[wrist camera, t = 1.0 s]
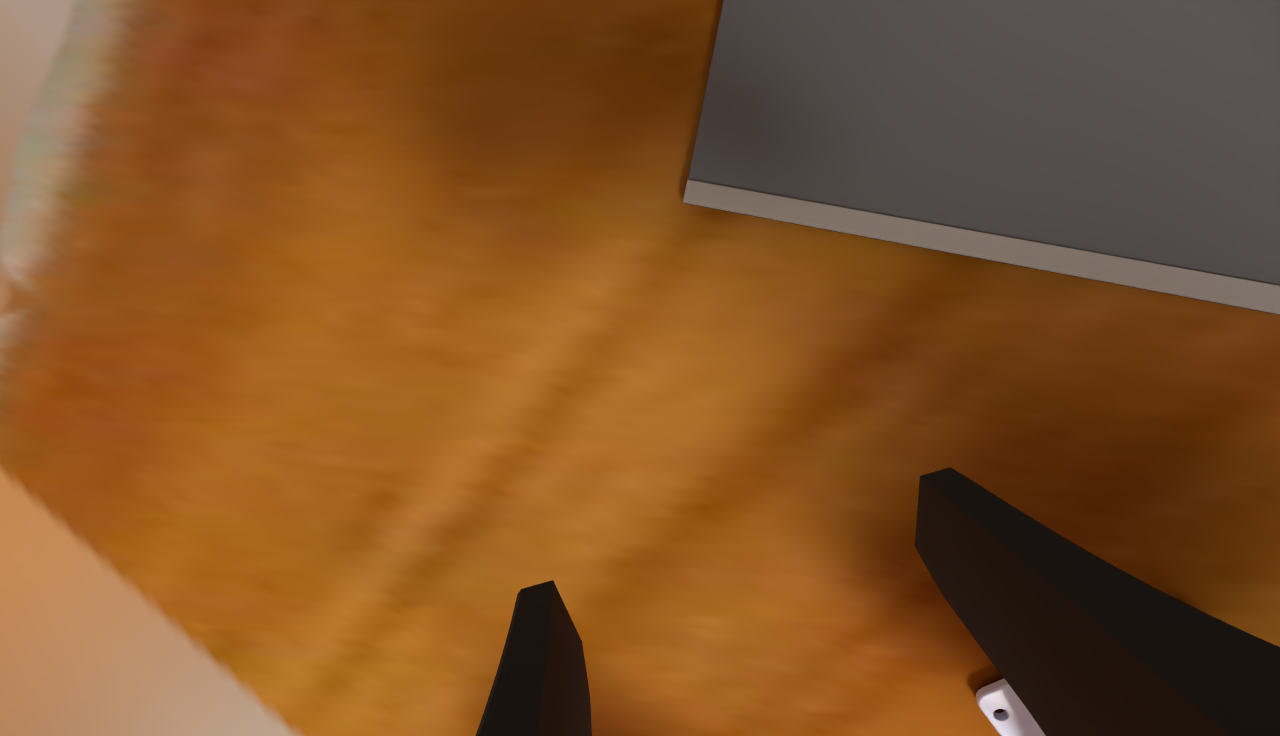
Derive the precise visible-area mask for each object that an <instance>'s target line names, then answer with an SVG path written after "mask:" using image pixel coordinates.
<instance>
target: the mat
mask: <svg viewBox="0 0 1280 736" xmlns="http://www.w3.org/2000/svg"><path fill="white" fill-rule="evenodd" d="M683 203H687V204H692V205H697V206H703V207H708V208H713V209H719V210H724V211H729V212H735V213H740V214H745V215H751V216H756V217H761V218H767V219H772V220H777V221H783V222H788V223H793V224H799V225H804V226H809V227H815V228H820V229H825V230H831V231H836V232H841V233H847V234H852V235H857V236H863V237H868V238H873V239H879V240H884V241H889V242H895V243H900V244H905V245H911V246H916V247H921V248H927V249H932V250H937V251H943V252H948V253H953V254H959V255H964V256H969V257H975V258H980V259H985V260H991V261H996V262H1001V263H1007V264H1012V265H1017V266H1023V267H1028V268H1033V269H1038V270H1044V271H1049V272H1054V273H1060V274H1065V275H1070V276H1076V277H1081V278H1086V279H1092V280H1097V281H1102V282H1108V283H1113V284H1118V285H1124V286H1129V287H1134V288H1140V289H1145V290H1150V291H1156V292H1161V293H1166V294H1172V295H1177V296H1182V297H1188V298H1193V299H1198V300H1204V301H1209V302H1214V303H1220V304H1225V305H1230V306H1236V307H1241V308H1246V309H1252V310H1257V311H1262V312H1268V313H1273V314H1278V315H1280V0H724V1H723V6H722V11H721V16H720V21H719V26H718V31H717V36H716V41H715V46H714V51H713V56H712V61H711V66H710V71H709V76H708V81H707V86H706V91H705V96H704V101H703V106H702V111H701V116H700V121H699V126H698V132H697V137H696V142H695V147H694V152H693V157H692V162H691V167H690V172H689V177H688V180H687V184H686V189H685V194H684V199H683Z"/></svg>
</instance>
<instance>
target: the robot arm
mask: <svg viewBox="0 0 1280 736" xmlns="http://www.w3.org/2000/svg"><path fill="white" fill-rule="evenodd" d="M915 547H916V549H917V551H918V553H919V554H920V556H921V558H922V560H923V562H924V563H925V565H926V567H927V569H928V571H929V572H930V574H931V576H932V577H933V579H934V581H935V582H936V584H937V586H938V587H939V589H940V591H941V593H942V594H943V596H944V597H945V599H946V600H947V601H948V603H949V604H950V606H951V607H952V608H953V610H954V611H955V612H956V614H957V615H958V617H959V618H960V619H961V621H962V622H963V623H964V625H965V626H966V627H967V629H968V630H969V632H970V633H971V634H972V636H973V637H974V638H975V640H976V641H977V642H978V644H979V645H980V646H981V648H982V649H983V650H984V652H985V653H986V654H987V656H988V657H989V658H990V660H991V661H992V662H993V664H994V665H995V667H996V668H997V669H998V671H999V672H1000V673H1001V675H1002V676H1003V677H1004V679H1001V680H999V681H997V682H994V683H992V684H990V685H987V686H985V687H982V688H981V689H979V690H978V692H977V693H976V700H977V703H978V705H979V707H980V709H981V710H982V712H983V713H984V714H985V715H986V717H987V718H988V719H989V721H990V722H991V723H992V725H993V726H994V727H995V729H996V730H997V731H998V732H999V734H1000V735H1001V736H1280V647H1278V646H1276V645H1273V644H1271V643H1269V642H1267V641H1264V640H1262V639H1260V638H1258V637H1255V636H1253V635H1251V634H1249V633H1246V632H1244V631H1242V630H1240V629H1238V628H1236V627H1233V626H1231V625H1229V624H1227V623H1225V622H1223V621H1221V620H1219V619H1217V618H1215V617H1212V616H1210V615H1208V614H1206V613H1204V612H1202V611H1200V610H1198V609H1196V608H1194V607H1192V606H1189V605H1187V604H1185V603H1183V602H1181V601H1179V600H1177V599H1175V598H1173V597H1171V596H1169V595H1167V594H1165V593H1163V592H1161V591H1159V590H1157V589H1156V588H1154V587H1152V586H1150V585H1148V584H1146V583H1144V582H1142V581H1141V580H1139V579H1137V578H1135V577H1133V576H1131V575H1129V574H1128V573H1126V572H1124V571H1122V570H1120V569H1118V568H1116V567H1115V566H1113V565H1111V564H1109V563H1107V562H1106V561H1104V560H1102V559H1100V558H1099V557H1097V556H1095V555H1093V554H1091V553H1090V552H1088V551H1086V550H1085V549H1083V548H1081V547H1079V546H1078V545H1076V544H1074V543H1073V542H1071V541H1069V540H1068V539H1066V538H1064V537H1062V536H1061V535H1059V534H1057V533H1056V532H1054V531H1052V530H1051V529H1049V528H1047V527H1046V526H1044V525H1042V524H1041V523H1039V522H1037V521H1036V520H1034V519H1032V518H1031V517H1029V516H1028V515H1026V514H1024V513H1023V512H1021V511H1020V510H1018V509H1016V508H1015V507H1013V506H1012V505H1010V504H1008V503H1007V502H1005V501H1004V500H1002V499H1000V498H999V497H997V496H996V495H994V494H992V493H991V492H989V491H988V490H986V489H984V488H983V487H981V486H980V485H978V484H977V483H975V482H973V481H972V480H970V479H969V478H967V477H965V476H964V475H962V474H961V473H959V472H957V471H956V470H954V469H952V468H951V467H950V468H947V469H943V470H940V471H936V472H933V473H929V474H926V475H922V476H920V484H919V498H918V511H917V524H916V537H915ZM997 709H1004V710H1005V711H1003V712H1002V713H995V712H994V711H995V710H997ZM476 736H592V729H591V708H590V695H589V687H588V680H587V673H586V666H585V659H584V653H583V646H582V641H581V639H580V637H579V635H578V632H577V630H576V628H575V626H574V624H573V622H572V620H571V618H570V615H569V613H568V611H567V609H566V607H565V605H564V603H563V601H562V598H561V596H560V594H559V592H558V590H557V588H556V586H555V584H554V581H553V580H552V581H548V582H545V583H541V584H538V585H534V586H531V587H527V588H524V589H521V590H520V592H519V593H518V595H517V599H516V603H515V608H514V612H513V616H512V620H511V624H510V628H509V632H508V635H507V639H506V643H505V646H504V650H503V653H502V657H501V660H500V664H499V667H498V670H497V674H496V677H495V680H494V683H493V686H492V689H491V692H490V695H489V698H488V701H487V704H486V708H485V711H484V714H483V717H482V720H481V723H480V725H479V728H478V731H477V734H476Z"/></svg>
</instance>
